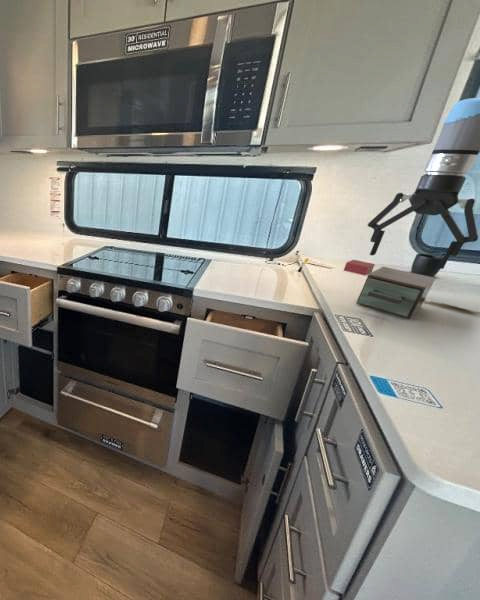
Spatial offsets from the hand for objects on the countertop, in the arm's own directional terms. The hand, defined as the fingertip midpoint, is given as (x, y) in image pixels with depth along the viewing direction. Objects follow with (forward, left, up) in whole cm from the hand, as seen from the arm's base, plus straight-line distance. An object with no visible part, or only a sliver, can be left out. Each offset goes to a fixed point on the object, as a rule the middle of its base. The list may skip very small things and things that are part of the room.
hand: (404, 261), depth 86 cm
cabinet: (+1, -16, -17) cm, 23 cm away
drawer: (+1, -11, -16) cm, 19 cm away
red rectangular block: (+17, -46, -17) cm, 51 cm away
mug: (+1, -68, -17) cm, 70 cm away
